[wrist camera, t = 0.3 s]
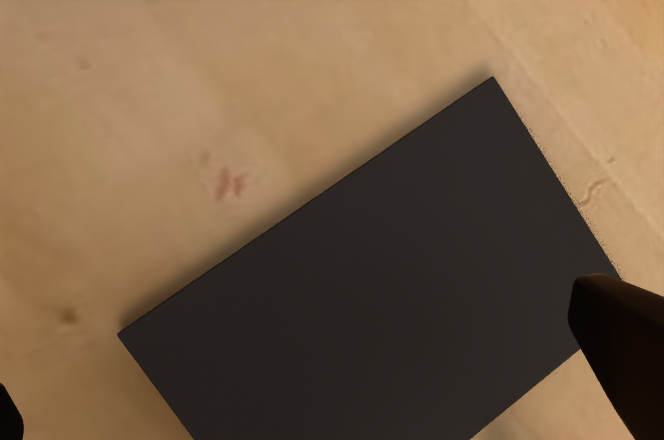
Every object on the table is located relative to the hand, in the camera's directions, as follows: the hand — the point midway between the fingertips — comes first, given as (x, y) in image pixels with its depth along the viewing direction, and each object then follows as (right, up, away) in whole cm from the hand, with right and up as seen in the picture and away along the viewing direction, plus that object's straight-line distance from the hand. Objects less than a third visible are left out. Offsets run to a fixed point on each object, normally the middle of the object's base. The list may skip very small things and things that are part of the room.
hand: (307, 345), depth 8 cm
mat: (+3, -2, +15) cm, 16 cm away
